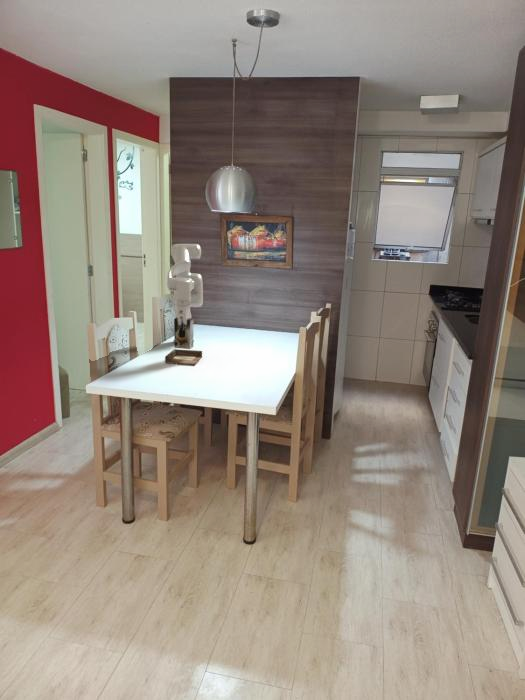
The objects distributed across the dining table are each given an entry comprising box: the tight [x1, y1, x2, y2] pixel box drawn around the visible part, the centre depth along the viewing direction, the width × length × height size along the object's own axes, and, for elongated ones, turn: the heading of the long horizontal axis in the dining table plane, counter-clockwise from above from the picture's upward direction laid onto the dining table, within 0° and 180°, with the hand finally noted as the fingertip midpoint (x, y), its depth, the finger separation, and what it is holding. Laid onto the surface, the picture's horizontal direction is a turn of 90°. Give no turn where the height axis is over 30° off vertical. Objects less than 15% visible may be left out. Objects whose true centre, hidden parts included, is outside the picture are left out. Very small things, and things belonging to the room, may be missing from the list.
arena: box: [164, 348, 203, 367], centre depth 285 cm, size 16×16×4 cm
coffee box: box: [173, 317, 195, 350], centre depth 284 cm, size 9×6×16 cm
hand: (184, 335), depth 284 cm, fingers closed on coffee box, 6 cm apart
